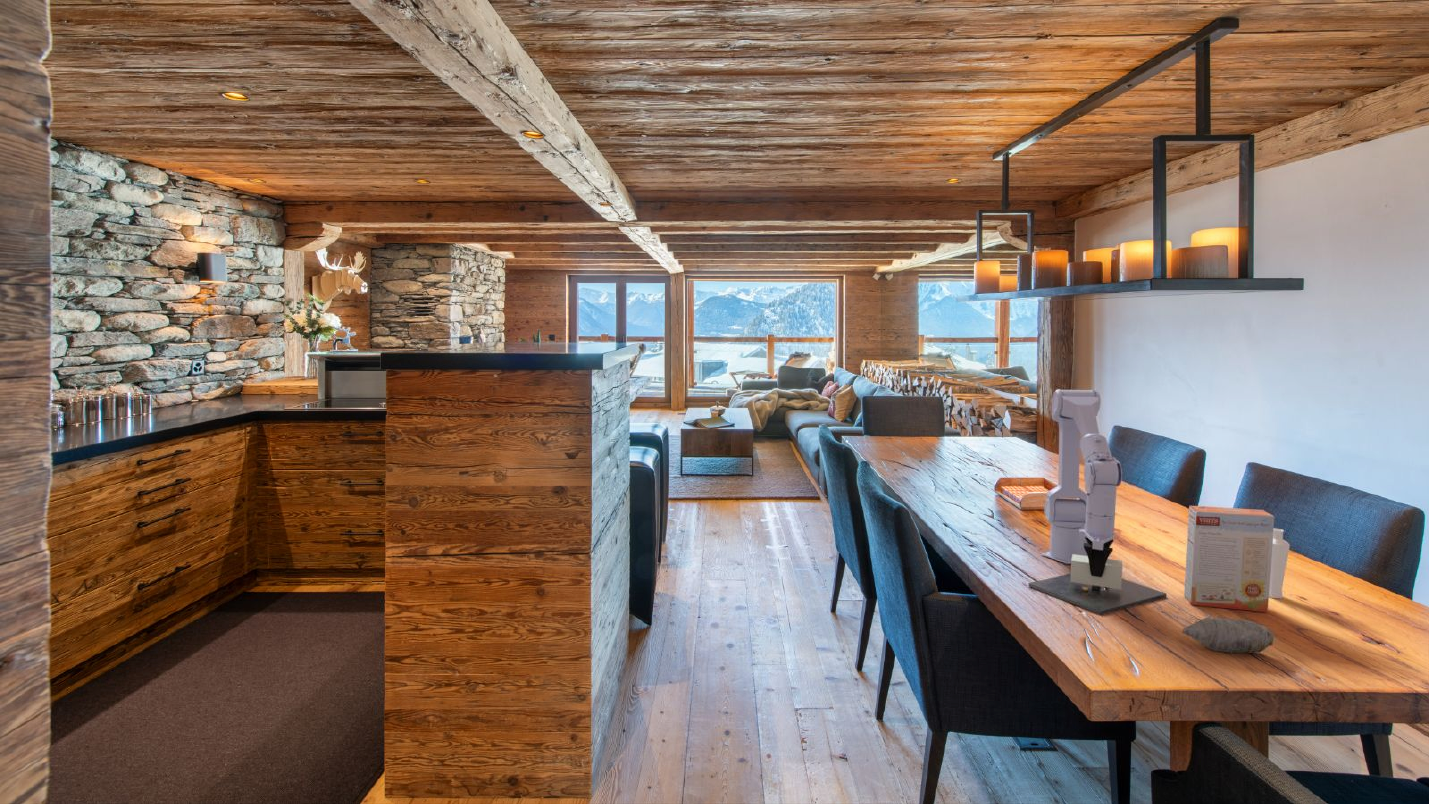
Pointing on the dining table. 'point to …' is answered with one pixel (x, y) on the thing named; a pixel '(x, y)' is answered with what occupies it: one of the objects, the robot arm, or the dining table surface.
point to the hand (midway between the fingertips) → (1097, 572)
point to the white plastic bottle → (1278, 563)
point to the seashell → (1230, 635)
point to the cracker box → (1229, 558)
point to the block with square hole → (1083, 575)
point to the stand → (1097, 594)
